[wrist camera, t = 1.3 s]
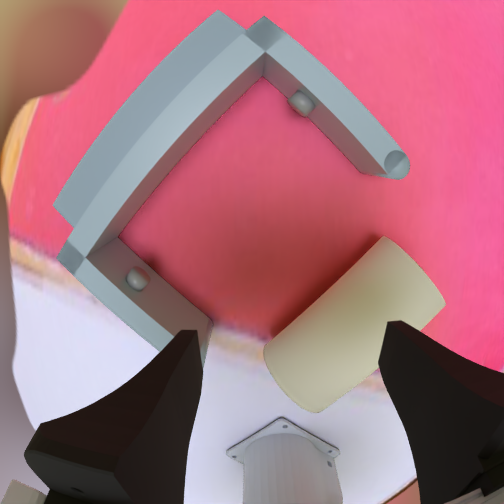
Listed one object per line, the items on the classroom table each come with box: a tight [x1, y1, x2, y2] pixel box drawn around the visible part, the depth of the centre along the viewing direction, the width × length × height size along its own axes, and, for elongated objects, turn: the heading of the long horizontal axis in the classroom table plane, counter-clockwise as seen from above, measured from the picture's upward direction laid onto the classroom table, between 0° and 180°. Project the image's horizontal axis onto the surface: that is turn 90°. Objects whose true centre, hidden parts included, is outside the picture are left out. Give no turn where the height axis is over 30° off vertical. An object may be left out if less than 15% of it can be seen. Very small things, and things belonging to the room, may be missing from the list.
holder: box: [53, 10, 410, 367], centre depth 18 cm, size 15×18×5 cm
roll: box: [264, 236, 446, 413], centre depth 20 cm, size 12×6×6 cm, turn 136°
